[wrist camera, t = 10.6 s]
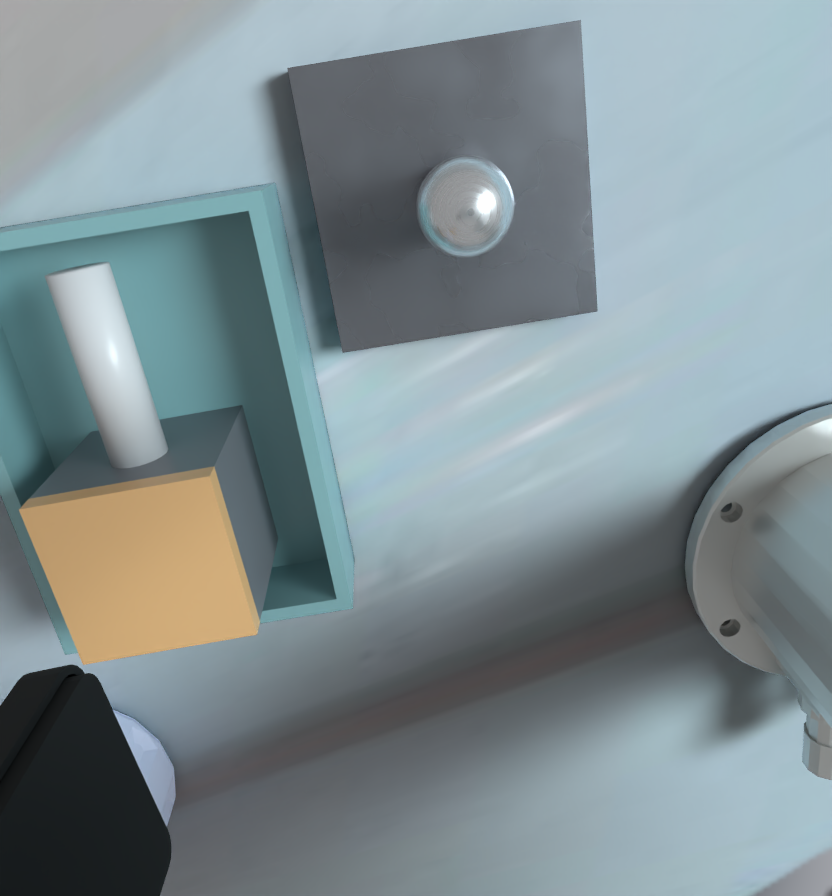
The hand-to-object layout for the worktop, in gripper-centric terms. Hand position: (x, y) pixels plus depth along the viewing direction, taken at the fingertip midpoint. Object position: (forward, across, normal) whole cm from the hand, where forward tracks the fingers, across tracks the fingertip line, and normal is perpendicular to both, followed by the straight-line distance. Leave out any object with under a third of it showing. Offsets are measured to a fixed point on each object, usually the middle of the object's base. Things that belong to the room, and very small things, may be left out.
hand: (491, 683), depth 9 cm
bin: (+19, +10, +1) cm, 22 cm away
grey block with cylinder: (+19, +10, +1) cm, 21 cm away
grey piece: (+20, -2, -4) cm, 20 cm away
